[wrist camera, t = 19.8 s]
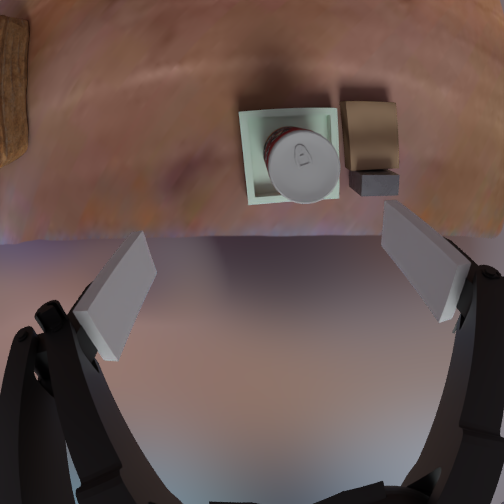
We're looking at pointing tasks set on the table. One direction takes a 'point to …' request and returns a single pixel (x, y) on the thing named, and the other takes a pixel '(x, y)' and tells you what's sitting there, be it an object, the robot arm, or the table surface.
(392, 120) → the tan block
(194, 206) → the table surface
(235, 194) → the table surface
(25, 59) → the bread
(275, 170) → the canned food
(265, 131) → the tray
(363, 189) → the bench dog
